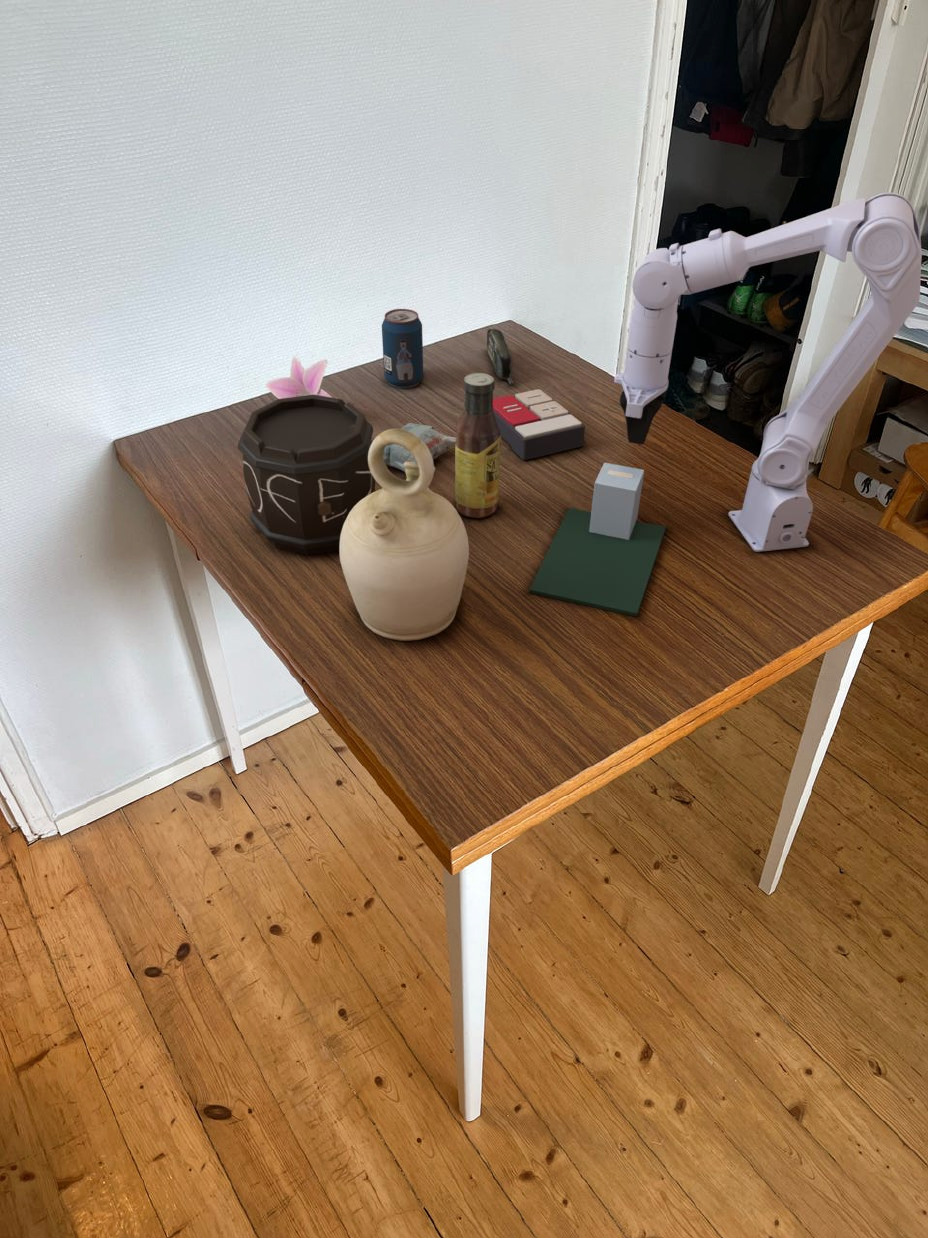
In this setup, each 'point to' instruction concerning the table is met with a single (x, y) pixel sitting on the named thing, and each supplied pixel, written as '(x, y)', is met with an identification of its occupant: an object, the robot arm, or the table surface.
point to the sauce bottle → (477, 450)
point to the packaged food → (427, 434)
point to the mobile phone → (499, 354)
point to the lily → (300, 381)
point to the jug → (404, 548)
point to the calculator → (537, 424)
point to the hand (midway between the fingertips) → (636, 441)
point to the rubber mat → (598, 565)
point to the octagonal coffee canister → (306, 470)
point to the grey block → (616, 500)
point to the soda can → (402, 348)
